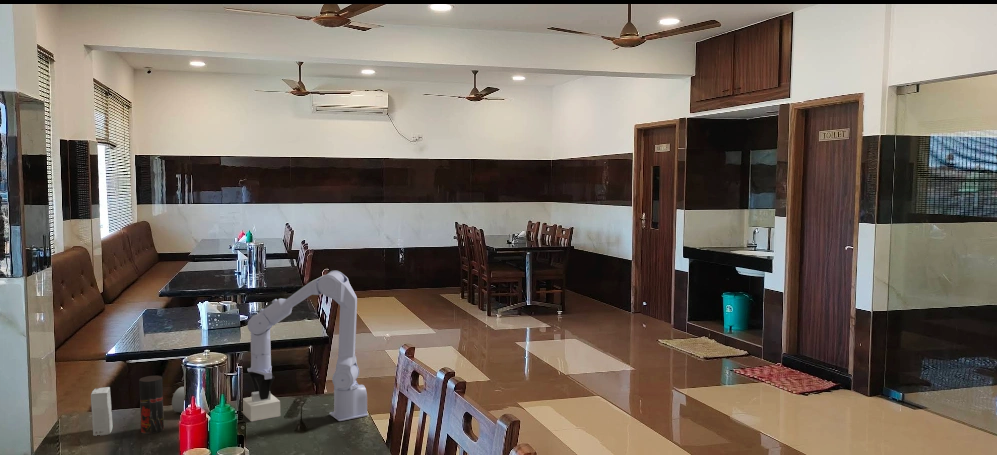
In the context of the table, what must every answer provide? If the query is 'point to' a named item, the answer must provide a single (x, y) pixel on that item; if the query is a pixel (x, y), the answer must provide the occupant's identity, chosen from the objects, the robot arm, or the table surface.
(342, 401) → the robot arm
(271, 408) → the white box with knob
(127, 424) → the table surface
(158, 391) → the deodorant
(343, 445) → the table surface
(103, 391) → the skincare box
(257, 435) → the table surface
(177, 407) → the grey rounded block
